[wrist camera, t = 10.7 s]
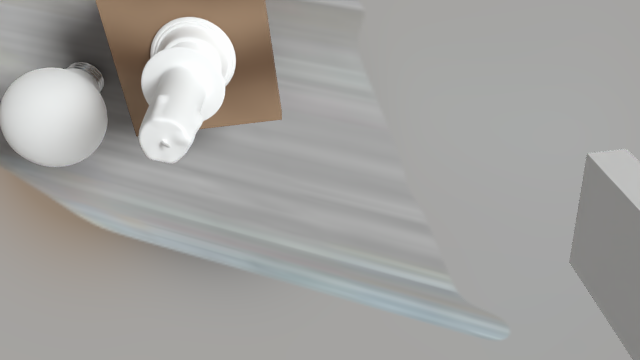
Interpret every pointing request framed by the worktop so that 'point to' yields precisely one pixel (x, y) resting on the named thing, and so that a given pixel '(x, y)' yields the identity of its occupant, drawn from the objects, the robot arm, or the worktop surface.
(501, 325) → the worktop surface
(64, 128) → the light bulb
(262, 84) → the small wooden table
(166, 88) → the candle
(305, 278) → the worktop surface
